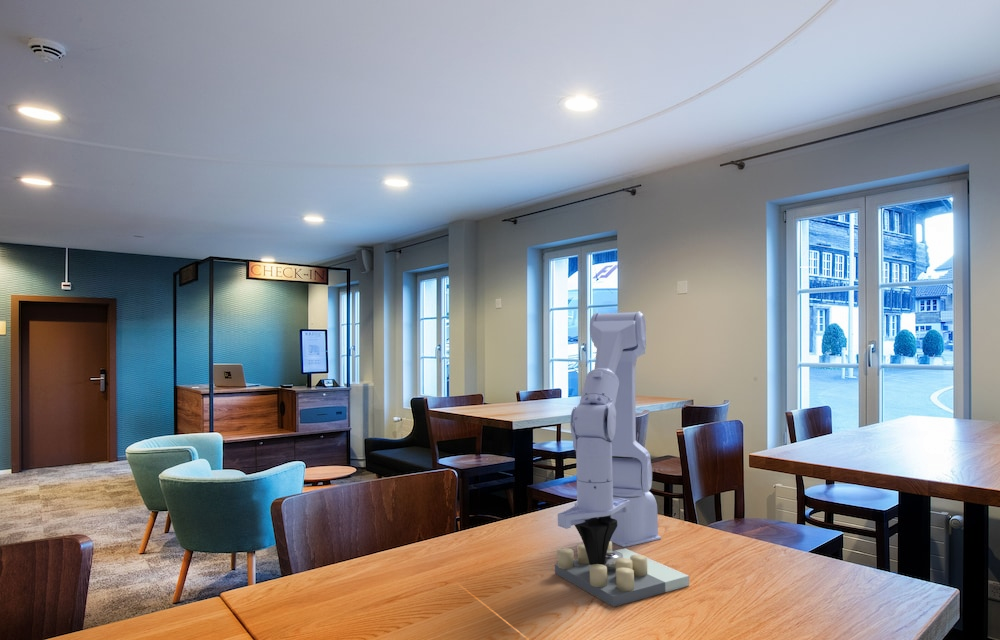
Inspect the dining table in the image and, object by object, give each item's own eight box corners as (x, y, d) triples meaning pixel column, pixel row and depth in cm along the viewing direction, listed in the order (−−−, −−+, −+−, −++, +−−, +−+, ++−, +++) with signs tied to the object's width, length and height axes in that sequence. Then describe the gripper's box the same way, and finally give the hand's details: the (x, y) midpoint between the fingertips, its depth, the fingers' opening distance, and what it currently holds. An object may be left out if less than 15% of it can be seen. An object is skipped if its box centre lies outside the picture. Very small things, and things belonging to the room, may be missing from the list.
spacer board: (625, 556, 108) (624, 534, 108) (689, 585, 95) (688, 559, 95) (553, 573, 101) (553, 549, 101) (612, 607, 88) (611, 579, 88)
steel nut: (612, 561, 102) (612, 548, 102) (628, 568, 98) (628, 555, 98) (593, 565, 100) (593, 553, 100) (609, 573, 96) (608, 560, 96)
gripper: (607, 469, 106) (609, 548, 105) (544, 481, 97) (545, 568, 96) (639, 475, 100) (641, 559, 100) (574, 489, 91) (576, 581, 91)
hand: (596, 564), depth 98 cm, fingers closed
